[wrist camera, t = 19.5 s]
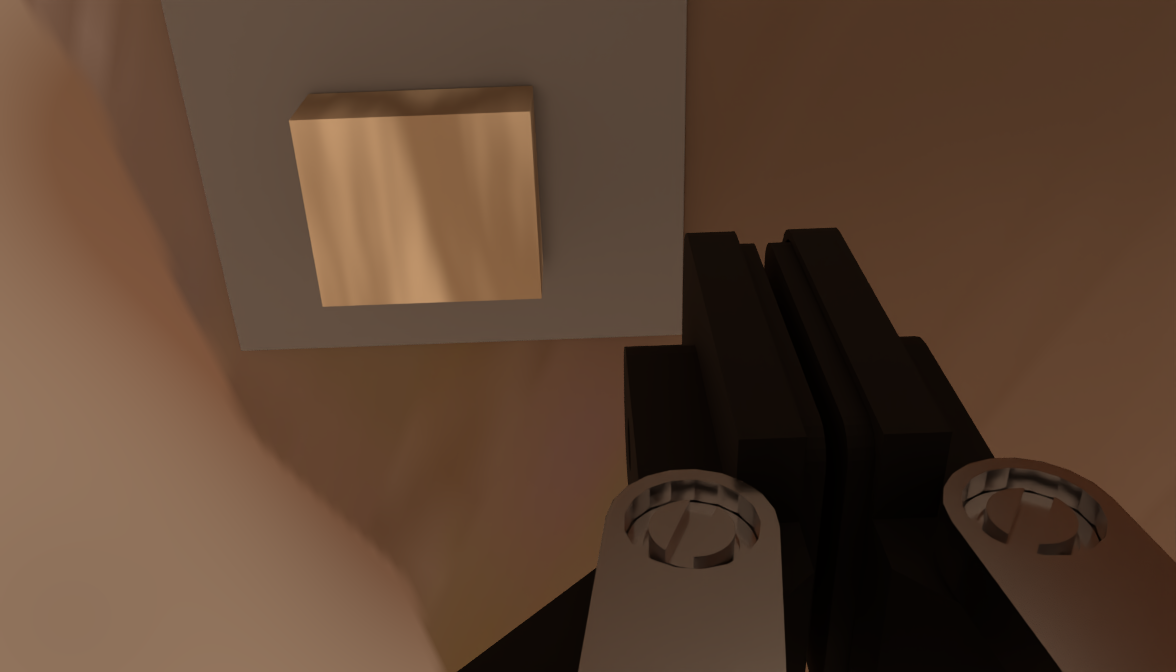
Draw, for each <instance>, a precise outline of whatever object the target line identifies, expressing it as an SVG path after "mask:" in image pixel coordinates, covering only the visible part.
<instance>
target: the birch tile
mask: <svg viewBox="0 0 1176 672" xmlns="http://www.w3.org/2000/svg"><path fill="white" fill-rule="evenodd" d="M289 124H290V129H291V135H292V140H293V146H294V151H295V157H296V162H297V168H298V173H299V179H300V184H301V190H302V196H303V201H304V207H305V212H306V218H307V223H308V229H309V234H310V240H311V245H312V251H313V256H314V262H315V267H316V273H317V278H318V284H319V289H320V295H321V300H322V306H323V307H329V306H355V305H382V304H409V303H435V302H462V301H489V300H515V299H542V280H543V250H542V234H541V217H540V200H539V183H538V167H537V150H536V133H535V116H534V100H533V86H508V87H482V88H455V89H428V90H402V91H375V92H348V93H322V94H308V95H307V97H306V98H305V99H304V101H303V102H302V103H301V105H300V106H299V107H298V109H297V110H296V112H295V113H294V114H293V116H292V117H291V118H290V120H289Z"/></svg>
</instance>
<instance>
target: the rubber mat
mask: <svg viewBox="0 0 1176 672" xmlns="http://www.w3.org/2000/svg"><path fill="white" fill-rule="evenodd" d="M161 4H162V8H163V13H164V17H165V21H166V26H167V30H168V34H169V39H170V43H171V47H172V52H173V56H174V60H175V65H176V69H177V73H178V78H179V82H180V87H181V91H182V95H183V100H184V104H185V108H186V113H187V117H188V121H189V126H190V130H191V134H192V139H193V143H194V147H195V152H196V156H197V160H198V165H199V169H200V174H201V178H202V182H203V187H204V191H205V195H206V200H207V204H208V208H209V213H210V217H211V221H212V226H213V230H214V234H215V239H216V243H217V247H218V252H219V256H220V261H221V265H222V269H223V274H224V278H225V282H226V287H227V291H228V295H229V300H230V304H231V308H232V313H233V317H234V321H235V326H236V330H237V334H238V339H239V343H240V348H241V351H249V350H276V349H304V348H331V347H358V346H386V345H413V344H441V343H468V342H496V341H523V340H551V339H578V338H605V337H633V336H660V335H682V281H683V218H684V155H685V92H686V29H687V0H161ZM508 86H533V100H534V116H535V133H536V150H537V167H538V183H539V200H540V217H541V234H542V250H543V280H542V299H515V300H489V301H462V302H435V303H409V304H382V305H355V306H329V307H323V306H322V300H321V295H320V289H319V284H318V278H317V273H316V267H315V262H314V256H313V251H312V245H311V240H310V234H309V229H308V223H307V218H306V212H305V207H304V201H303V196H302V190H301V184H300V179H299V173H298V168H297V162H296V157H295V151H294V146H293V140H292V135H291V129H290V124H289V120H290V118H291V117H292V116H293V114H294V113H295V112H296V110H297V109H298V107H299V106H300V105H301V103H302V102H303V101H304V99H305V98H306V97H307V95H308V94H322V93H348V92H375V91H402V90H428V89H455V88H482V87H508Z"/></svg>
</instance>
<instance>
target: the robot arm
mask: <svg viewBox="0 0 1176 672" xmlns="http://www.w3.org/2000/svg"><path fill="white" fill-rule="evenodd" d="M624 404H625V439H626V460H627V476H628V486H627V487H626V488H625V489H624V490H623V491H622V492H621V493H620V494H619V495H618V496H616V497H615V498H614V499H613V501H612V503H611V506H610V508H609V510H608V513H607V515H606V518H605V524H604V529H603V535H602V541H601V546H600V552H599V557H598V563H597V568H595V569H594V570H593V571H591V572H590V573H589V574H587V575H586V576H585V577H583V578H582V579H581V580H579V581H578V582H577V583H575V584H574V585H573V586H571V587H570V588H569V589H567V590H566V591H565V592H563V593H562V594H561V595H559V596H558V597H557V598H555V599H554V600H553V601H551V602H550V603H549V604H547V605H546V606H545V607H543V608H542V609H541V610H539V611H538V612H537V613H535V614H534V615H533V616H531V617H530V618H529V619H527V620H526V621H524V622H523V623H522V624H520V625H519V626H518V627H516V628H515V629H514V630H512V631H511V632H510V633H508V634H507V635H506V636H504V637H503V638H502V639H500V640H499V641H498V642H496V643H495V644H494V645H492V646H491V647H490V648H488V649H487V650H486V651H484V652H483V653H482V654H480V655H479V656H478V657H476V658H475V659H474V660H472V661H471V662H470V663H468V664H467V665H466V666H464V667H463V668H462V669H460V670H459V671H458V672H805V668H806V662H807V665H808V669H809V672H1176V562H1175V561H1174V560H1173V559H1172V558H1171V557H1170V556H1169V555H1168V554H1167V553H1166V552H1165V551H1164V550H1163V549H1162V548H1161V547H1160V546H1159V545H1158V544H1157V543H1156V542H1155V541H1154V540H1153V539H1152V538H1151V537H1150V536H1149V535H1148V534H1147V533H1146V532H1145V531H1144V530H1143V528H1142V527H1141V526H1140V525H1139V524H1138V523H1137V522H1136V521H1135V520H1134V519H1133V518H1132V517H1131V516H1130V515H1129V514H1128V513H1127V512H1126V511H1125V510H1124V509H1123V508H1122V507H1121V506H1120V505H1119V504H1118V503H1117V502H1116V501H1115V500H1114V499H1113V498H1112V497H1111V496H1110V495H1108V494H1107V493H1106V492H1105V491H1103V490H1102V489H1101V488H1100V487H1098V486H1097V485H1096V484H1095V483H1093V482H1092V481H1090V480H1088V479H1086V478H1084V477H1082V476H1080V475H1078V474H1076V473H1074V472H1072V471H1070V470H1067V469H1064V468H1061V467H1058V466H1055V465H1052V464H1048V463H1045V462H1042V461H1035V460H1028V459H1021V458H994V456H993V454H992V453H991V451H990V449H989V448H988V446H987V444H986V443H985V441H984V439H983V438H982V436H981V434H980V433H979V431H978V429H977V428H976V426H975V424H974V423H973V421H972V419H971V418H970V416H969V414H968V413H967V411H966V409H965V408H964V406H963V404H962V403H961V401H960V399H959V398H958V396H957V394H956V393H955V391H954V389H953V388H952V386H951V384H950V383H949V381H948V380H947V378H946V376H945V375H944V373H943V371H942V370H941V368H940V366H939V365H938V363H937V361H936V360H935V358H934V356H933V355H932V353H931V351H930V350H929V348H928V346H927V345H926V343H925V342H924V341H923V340H922V339H921V338H920V337H916V336H908V337H899V336H898V334H897V332H896V331H895V329H894V327H893V325H892V324H891V322H890V320H889V318H888V317H887V315H886V313H885V311H884V309H883V308H882V306H881V304H880V302H879V301H878V299H877V297H876V295H875V293H874V292H873V290H872V288H871V286H870V285H869V283H868V281H867V279H866V277H865V276H864V274H863V272H862V270H861V269H860V267H859V265H858V263H857V261H856V260H855V258H854V256H853V254H852V253H851V251H850V249H849V247H848V246H847V244H846V242H845V240H844V238H843V237H842V235H841V233H840V231H839V230H838V229H837V228H815V229H788V230H786V232H785V234H784V237H783V242H780V243H768V244H767V247H766V252H765V265H764V267H763V265H762V262H761V259H760V257H759V254H758V251H757V249H756V246H755V244H754V243H753V244H739V241H738V238H737V235H736V233H735V231H733V232H705V233H686V234H685V239H684V258H683V319H682V345H661V346H633V347H624Z"/></svg>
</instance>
